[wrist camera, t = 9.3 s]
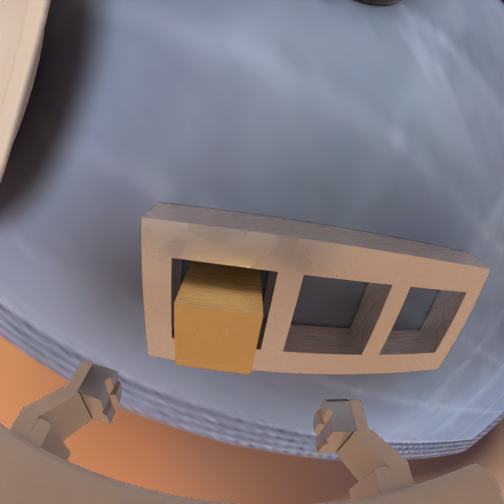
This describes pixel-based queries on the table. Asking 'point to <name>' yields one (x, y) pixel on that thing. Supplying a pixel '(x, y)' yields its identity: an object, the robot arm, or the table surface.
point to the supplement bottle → (382, 1)
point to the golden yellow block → (218, 317)
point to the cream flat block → (290, 279)
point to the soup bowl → (18, 64)
